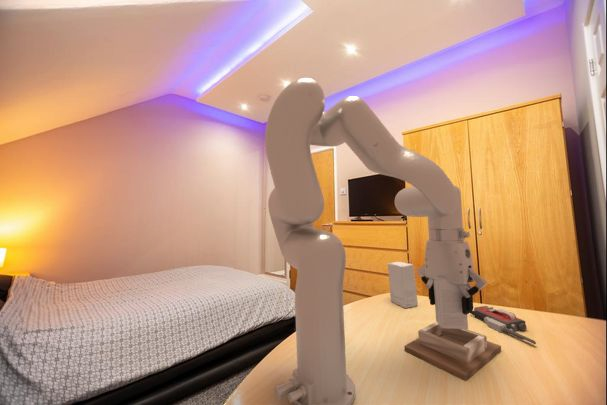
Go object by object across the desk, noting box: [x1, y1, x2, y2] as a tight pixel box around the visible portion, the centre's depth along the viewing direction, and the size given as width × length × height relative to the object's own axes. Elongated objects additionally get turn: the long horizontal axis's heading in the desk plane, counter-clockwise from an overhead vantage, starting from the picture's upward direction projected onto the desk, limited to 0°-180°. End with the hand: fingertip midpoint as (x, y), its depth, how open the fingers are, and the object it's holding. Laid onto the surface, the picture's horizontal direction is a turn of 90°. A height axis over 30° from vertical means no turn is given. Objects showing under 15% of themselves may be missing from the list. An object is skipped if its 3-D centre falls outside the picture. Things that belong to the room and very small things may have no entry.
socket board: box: [403, 321, 502, 382], centre depth 62 cm, size 18×14×4 cm
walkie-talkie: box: [469, 305, 537, 345], centre depth 73 cm, size 9×4×20 cm
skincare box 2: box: [433, 277, 469, 330], centre depth 62 cm, size 6×4×12 cm
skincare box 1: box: [387, 261, 419, 309], centre depth 94 cm, size 8×6×15 cm
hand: (450, 307), depth 62 cm, fingers closed on skincare box 2, 7 cm apart
